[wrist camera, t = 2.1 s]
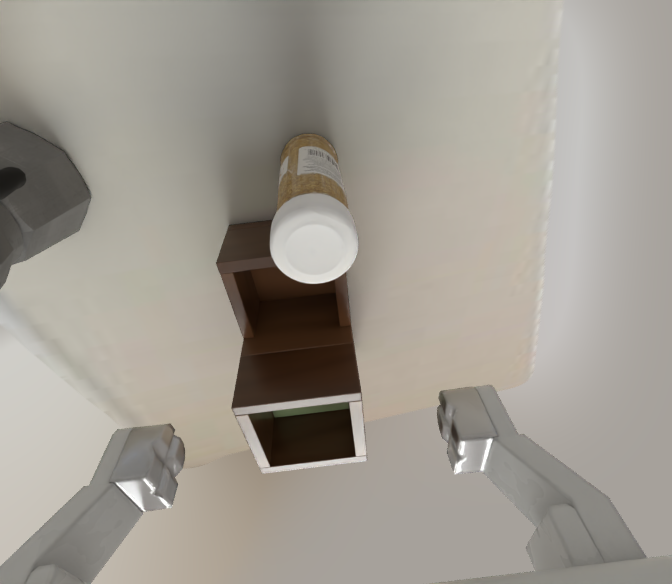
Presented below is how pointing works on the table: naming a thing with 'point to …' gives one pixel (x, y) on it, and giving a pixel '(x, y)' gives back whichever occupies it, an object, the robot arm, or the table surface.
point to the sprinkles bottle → (312, 214)
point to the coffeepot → (35, 196)
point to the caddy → (291, 359)
